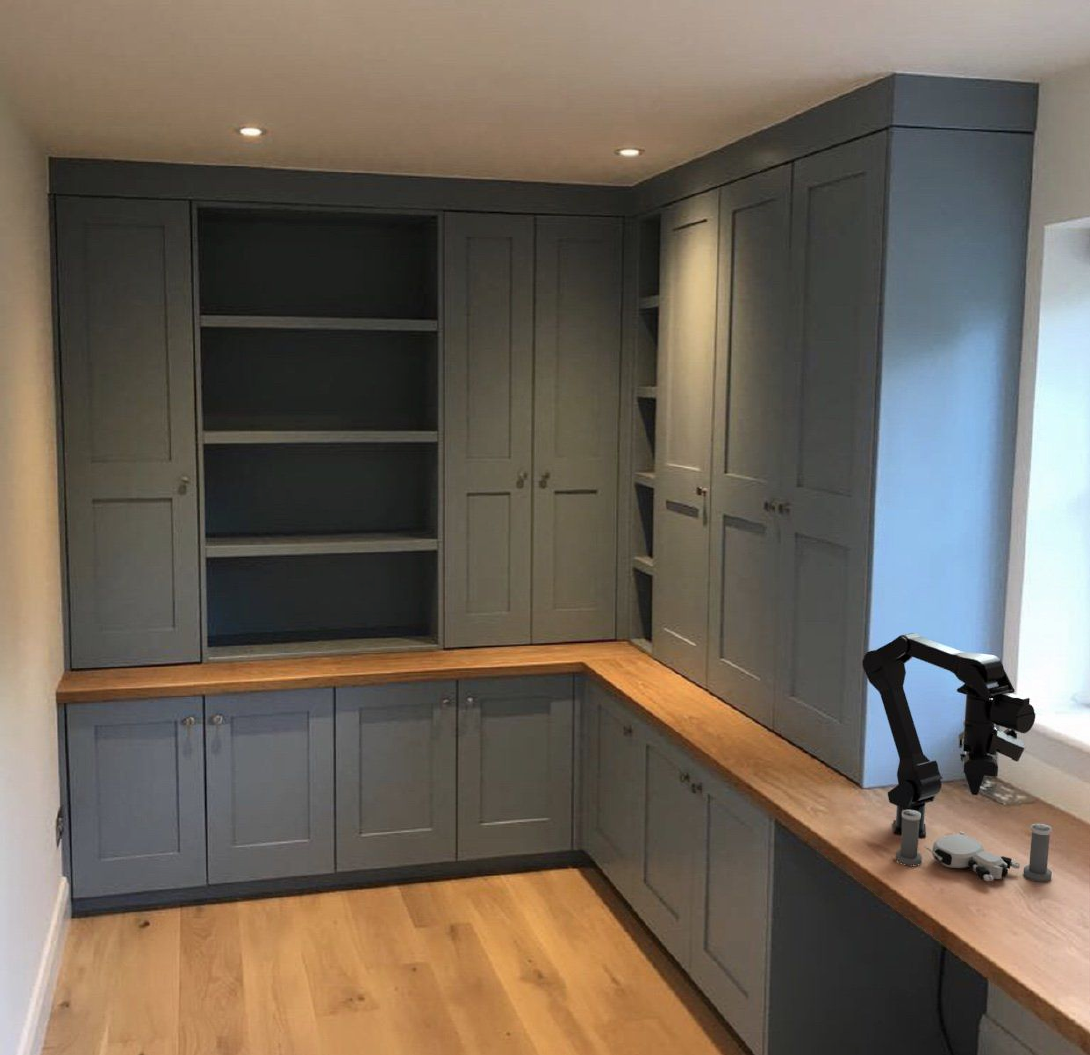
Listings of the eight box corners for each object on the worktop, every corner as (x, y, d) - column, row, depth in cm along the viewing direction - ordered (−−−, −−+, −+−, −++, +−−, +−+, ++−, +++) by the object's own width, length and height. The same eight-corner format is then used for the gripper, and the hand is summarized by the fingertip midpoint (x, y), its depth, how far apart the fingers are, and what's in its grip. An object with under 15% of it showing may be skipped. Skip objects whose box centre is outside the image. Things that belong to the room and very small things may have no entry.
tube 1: (895, 854, 249) (898, 807, 247) (921, 857, 247) (924, 809, 246) (895, 864, 244) (898, 816, 242) (921, 867, 242) (924, 819, 241)
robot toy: (1022, 878, 241) (955, 847, 252) (1025, 857, 240) (958, 827, 251) (987, 895, 233) (919, 862, 244) (990, 873, 232) (922, 841, 244)
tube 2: (1022, 869, 242) (1026, 821, 241) (1049, 872, 241) (1053, 824, 239) (1024, 880, 238) (1028, 830, 236) (1052, 883, 236) (1057, 834, 235)
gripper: (1028, 738, 233) (1022, 816, 235) (1018, 709, 250) (1012, 782, 253) (966, 732, 235) (961, 810, 238) (960, 704, 253) (955, 776, 256)
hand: (974, 794), depth 246 cm, fingers closed
